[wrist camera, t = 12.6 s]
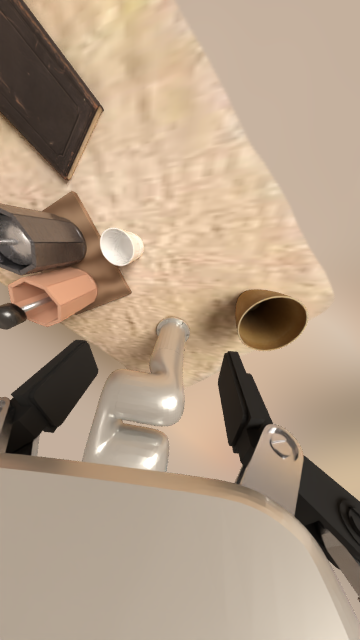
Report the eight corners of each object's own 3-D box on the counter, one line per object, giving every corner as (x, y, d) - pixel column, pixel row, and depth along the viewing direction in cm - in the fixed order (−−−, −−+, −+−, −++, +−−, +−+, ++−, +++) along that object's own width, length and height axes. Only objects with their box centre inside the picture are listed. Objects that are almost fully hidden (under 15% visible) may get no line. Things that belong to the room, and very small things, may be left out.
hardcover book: (71, 182, 36) (64, 179, 34) (-32, 73, 29) (-48, 60, 27) (105, 111, 30) (99, 102, 28) (-15, -50, 23) (-36, -78, 21)
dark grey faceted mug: (94, 254, 42) (48, 260, 28) (58, 272, 45) (1, 286, 32) (67, 208, 37) (-6, 189, 23) (28, 233, 41) (-54, 229, 27)
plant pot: (239, 270, 42) (262, 285, 28) (283, 288, 44) (325, 310, 30) (216, 312, 50) (226, 340, 36) (254, 326, 51) (278, 358, 37)
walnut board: (131, 292, 48) (130, 293, 47) (78, 313, 54) (75, 314, 53) (76, 192, 36) (71, 191, 35) (15, 233, 42) (9, 232, 41)
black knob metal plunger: (92, 298, 44) (32, 331, 28) (71, 306, 47) (4, 342, 30) (72, 270, 41) (-9, 291, 24) (50, 281, 43) (-38, 306, 26)
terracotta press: (105, 296, 48) (71, 317, 35) (72, 309, 52) (29, 333, 38) (82, 262, 43) (32, 271, 30) (47, 279, 47) (-11, 295, 33)
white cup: (143, 264, 44) (131, 270, 35) (118, 256, 43) (99, 260, 34) (148, 235, 40) (135, 234, 31) (120, 226, 39) (99, 222, 31)
